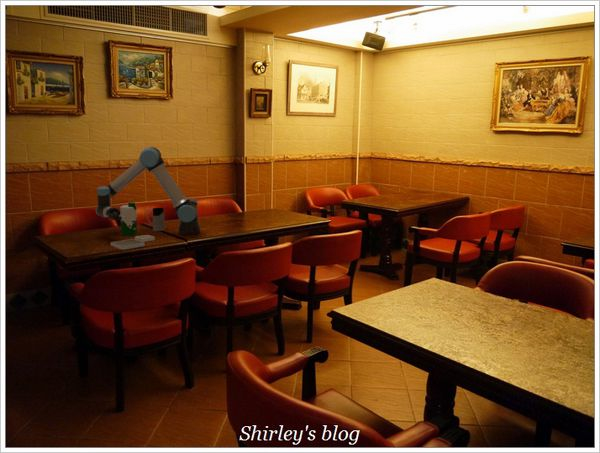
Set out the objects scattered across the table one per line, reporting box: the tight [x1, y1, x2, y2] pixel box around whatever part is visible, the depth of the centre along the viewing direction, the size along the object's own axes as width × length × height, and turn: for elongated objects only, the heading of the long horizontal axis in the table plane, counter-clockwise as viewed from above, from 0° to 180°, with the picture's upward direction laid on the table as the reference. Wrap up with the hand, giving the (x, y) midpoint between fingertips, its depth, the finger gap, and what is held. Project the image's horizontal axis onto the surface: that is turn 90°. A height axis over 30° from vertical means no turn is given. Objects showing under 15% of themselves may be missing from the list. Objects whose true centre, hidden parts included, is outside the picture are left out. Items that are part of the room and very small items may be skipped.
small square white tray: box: [134, 234, 156, 243], centre depth 330 cm, size 9×9×2 cm
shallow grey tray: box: [110, 238, 146, 251], centre depth 315 cm, size 15×15×2 cm
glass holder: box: [145, 207, 166, 232], centre depth 362 cm, size 9×14×15 cm, turn 78°
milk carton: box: [119, 202, 138, 237], centre depth 312 cm, size 9×9×20 cm
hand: (129, 218), depth 308 cm, fingers closed on milk carton, 5 cm apart
